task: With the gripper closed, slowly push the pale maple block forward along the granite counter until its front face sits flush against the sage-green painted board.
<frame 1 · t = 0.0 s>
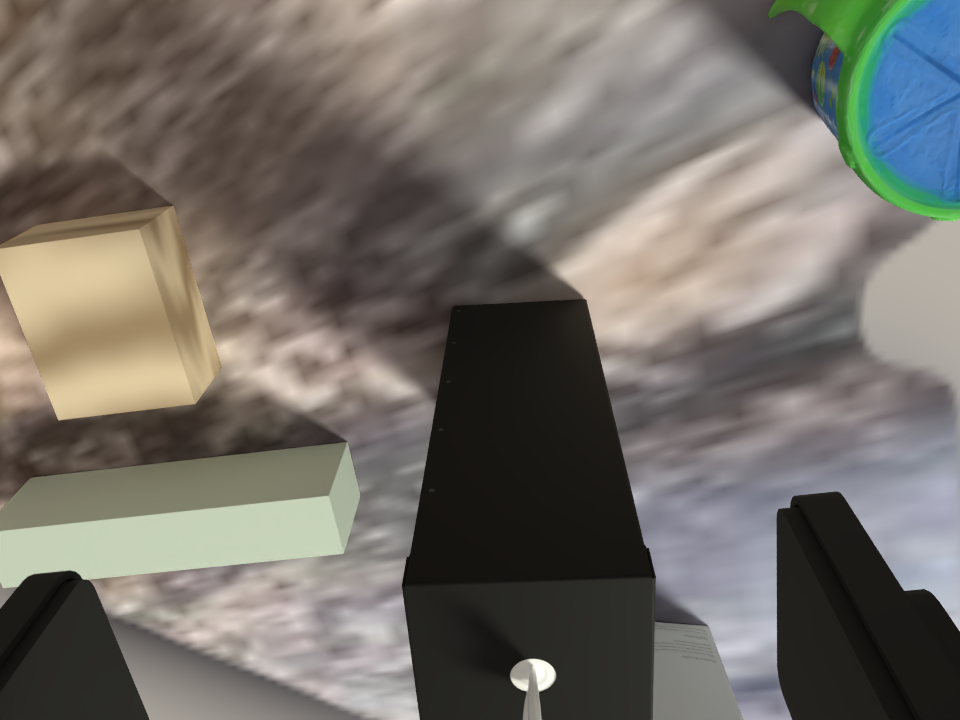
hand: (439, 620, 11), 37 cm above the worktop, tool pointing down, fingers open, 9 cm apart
maple block: (134, 297, 50), on the worktop
tall black block: (522, 360, 50), on the worktop
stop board: (195, 486, 55), on the worktop
snack cup: (879, 65, 43), on the worktop
skincare box: (648, 647, 59), on the worktop
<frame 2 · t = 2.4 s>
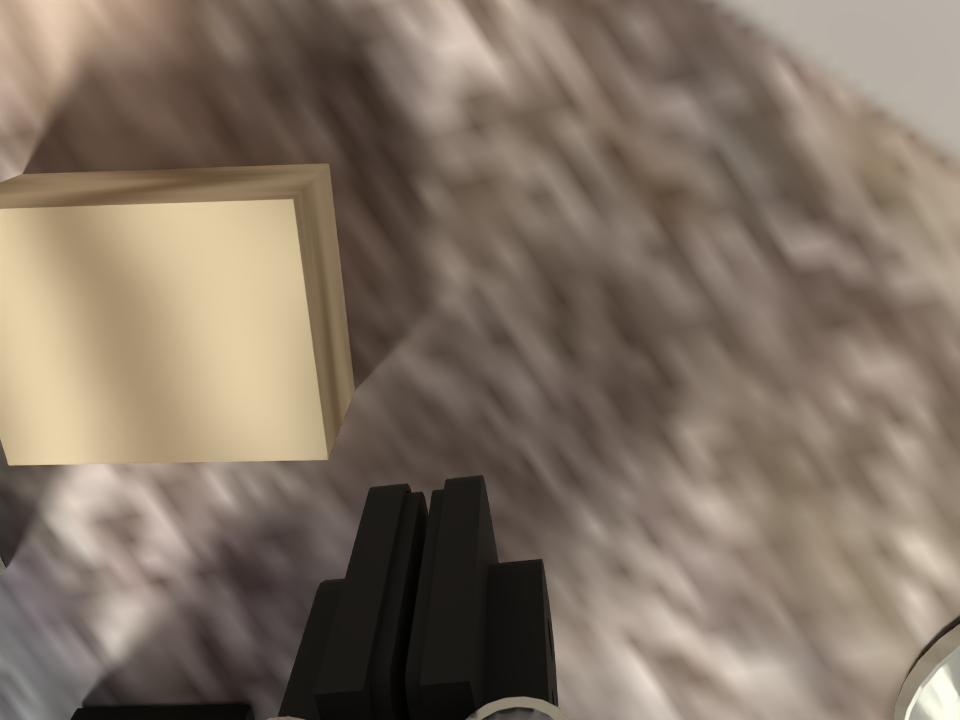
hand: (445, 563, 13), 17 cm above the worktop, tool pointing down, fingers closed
maple block: (198, 285, 29), on the worktop
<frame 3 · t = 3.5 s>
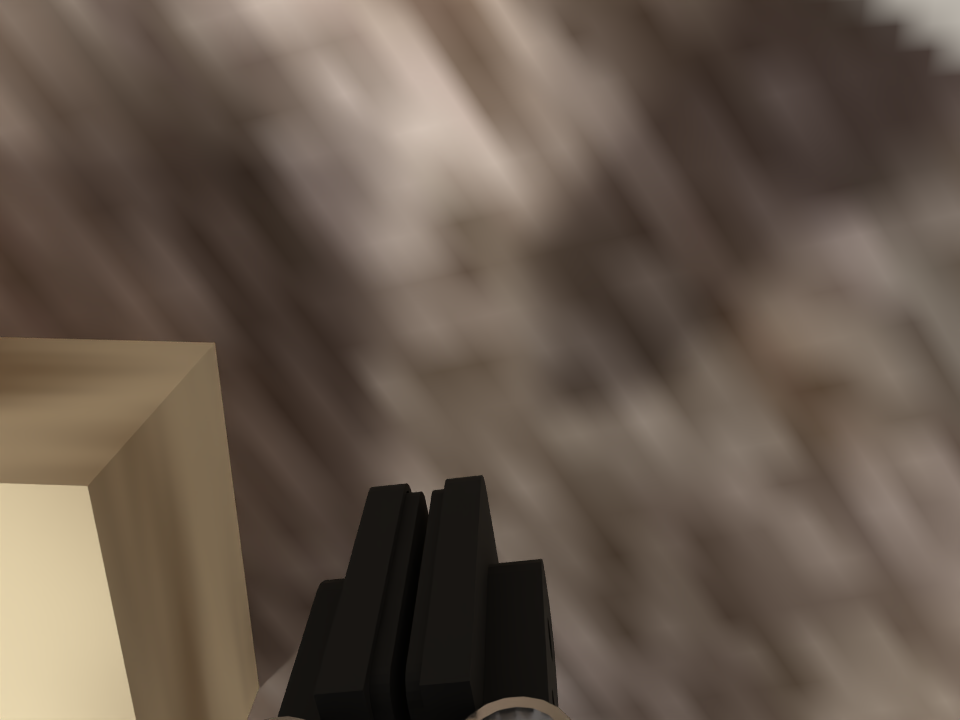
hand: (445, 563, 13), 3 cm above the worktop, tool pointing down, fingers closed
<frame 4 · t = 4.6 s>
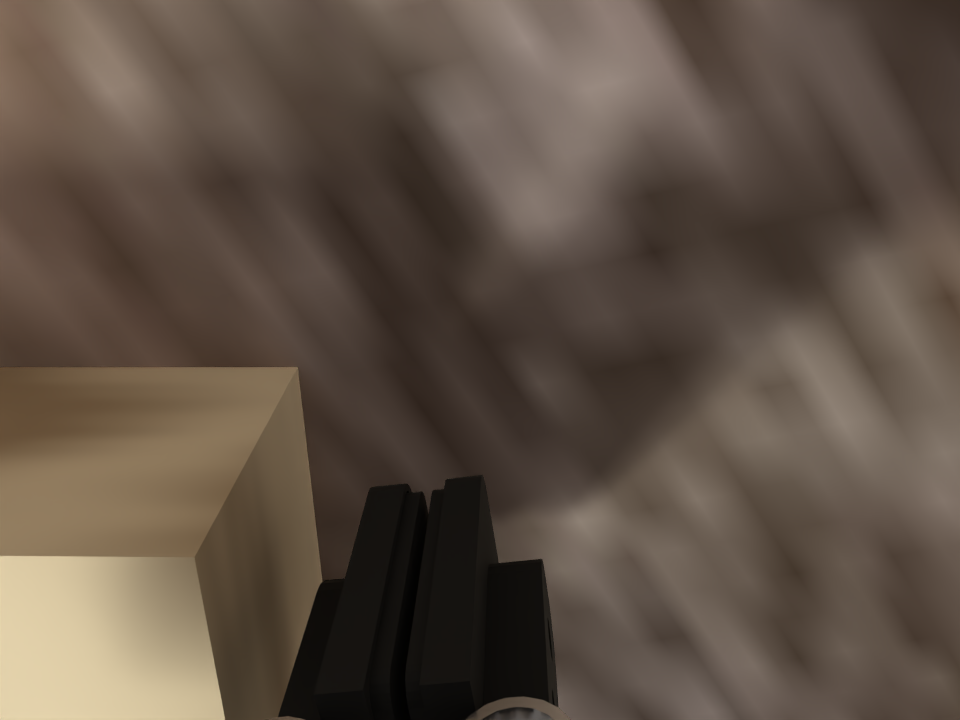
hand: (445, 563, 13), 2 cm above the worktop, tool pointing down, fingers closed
maple block: (48, 562, 15), on the worktop, touching gripper
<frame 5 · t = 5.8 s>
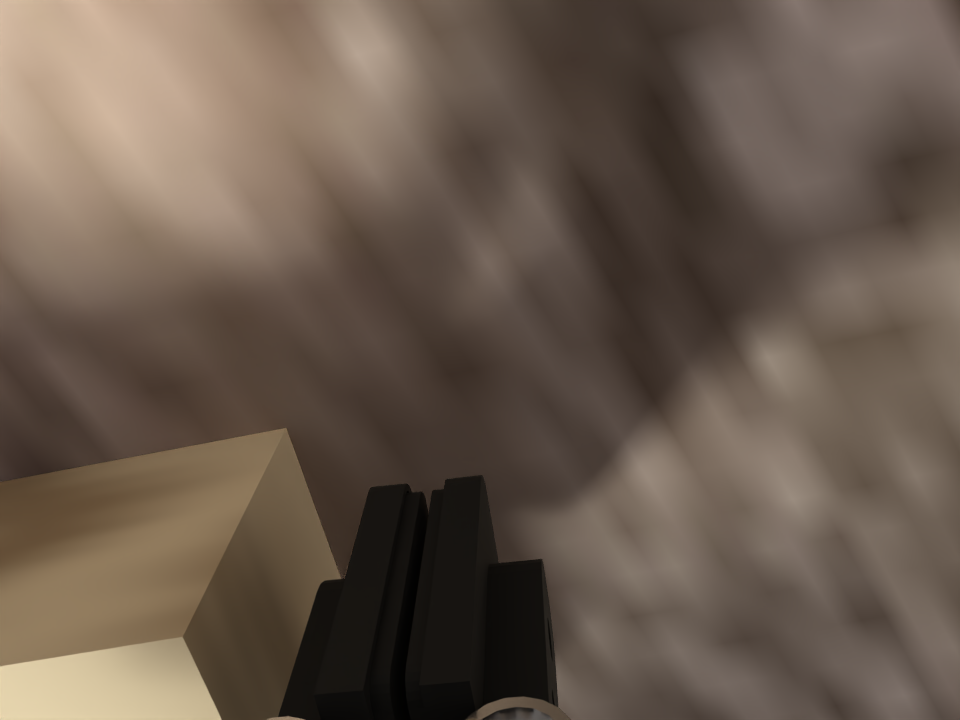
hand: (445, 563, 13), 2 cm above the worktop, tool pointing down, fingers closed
maple block: (105, 650, 16), on the worktop, touching gripper
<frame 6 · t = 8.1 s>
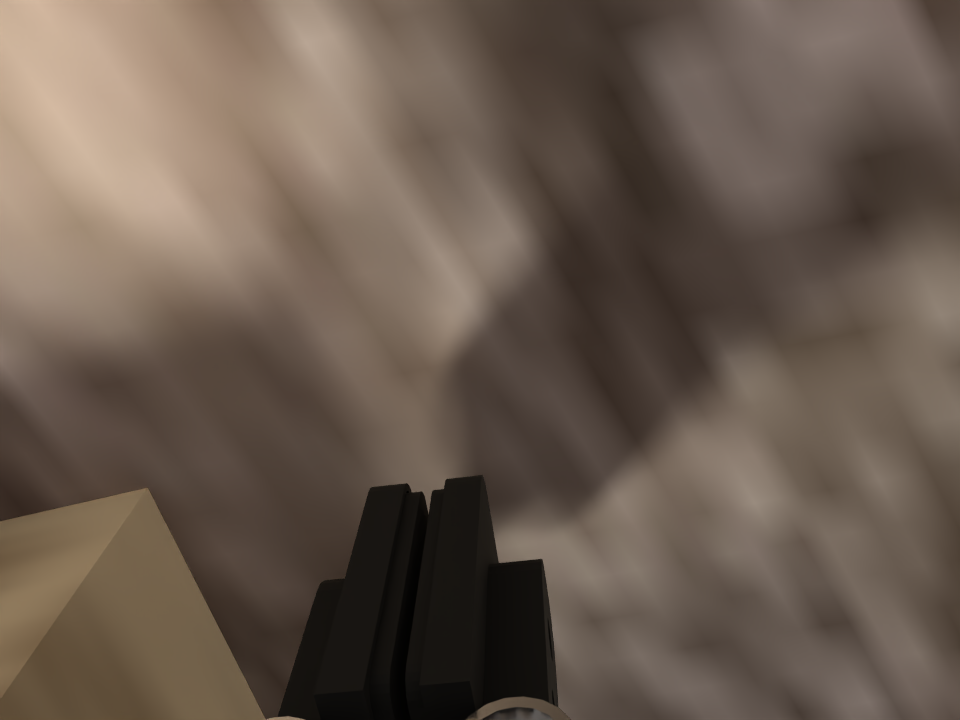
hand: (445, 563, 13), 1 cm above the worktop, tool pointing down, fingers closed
maple block: (2, 705, 16), on the worktop
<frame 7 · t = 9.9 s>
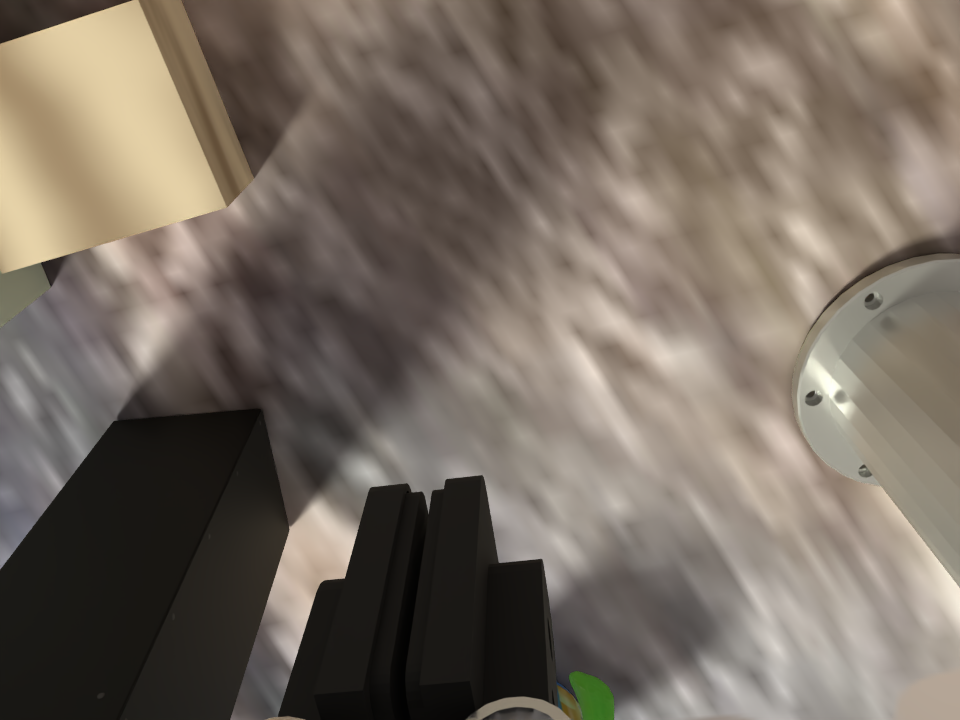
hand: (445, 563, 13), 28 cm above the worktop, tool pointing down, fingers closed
maple block: (114, 122, 37), on the worktop
tall black block: (206, 474, 45), on the worktop
snack cup: (520, 707, 53), on the worktop
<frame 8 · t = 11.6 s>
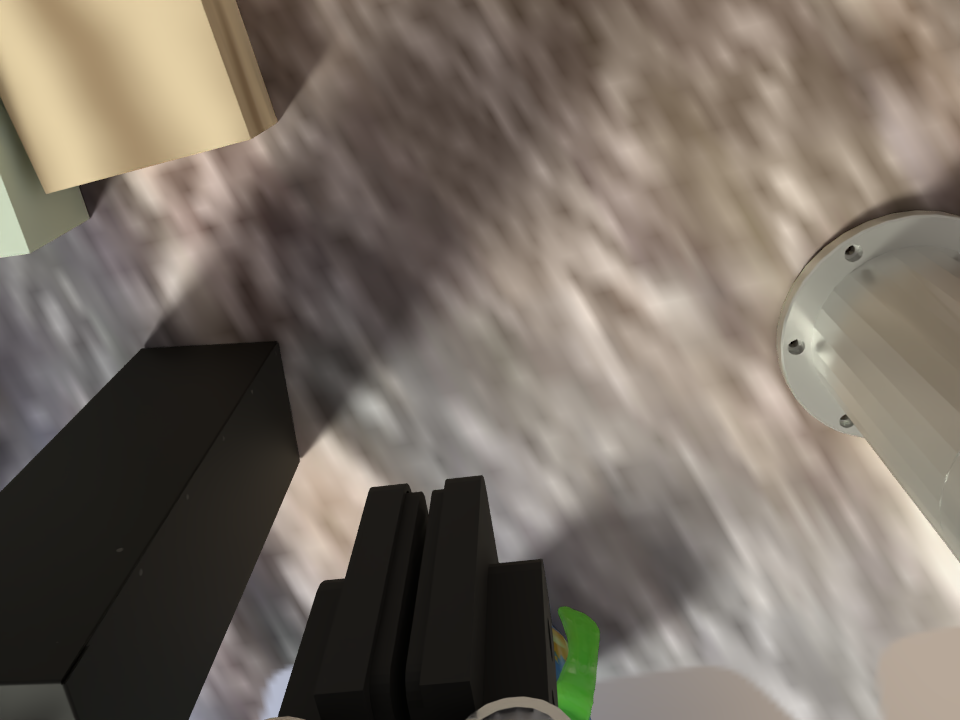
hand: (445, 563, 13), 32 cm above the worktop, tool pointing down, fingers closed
maple block: (153, 65, 41), on the worktop
tall black block: (224, 403, 48), on the worktop
snack cup: (513, 649, 55), on the worktop
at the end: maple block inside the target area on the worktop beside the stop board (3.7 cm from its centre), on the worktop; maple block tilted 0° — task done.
